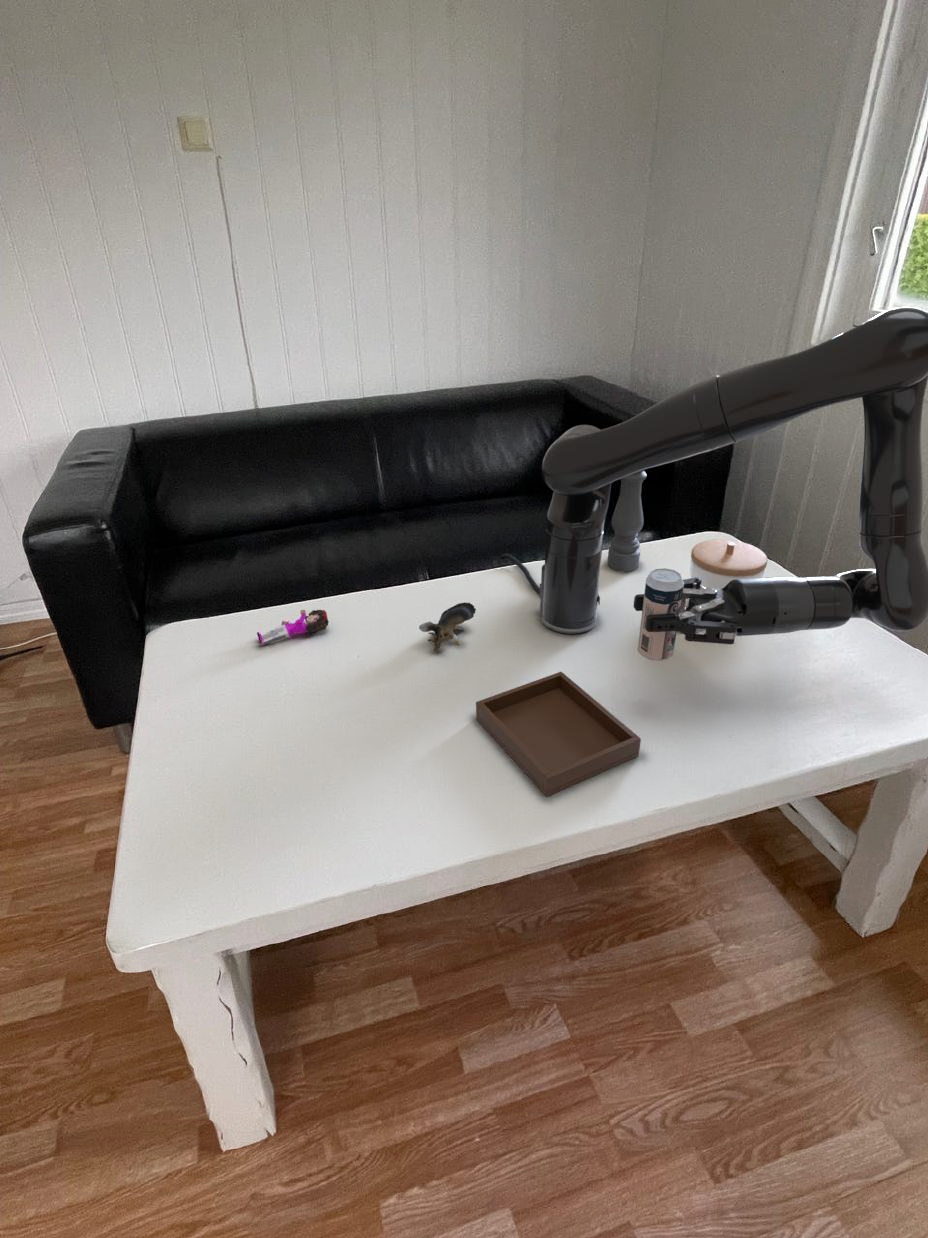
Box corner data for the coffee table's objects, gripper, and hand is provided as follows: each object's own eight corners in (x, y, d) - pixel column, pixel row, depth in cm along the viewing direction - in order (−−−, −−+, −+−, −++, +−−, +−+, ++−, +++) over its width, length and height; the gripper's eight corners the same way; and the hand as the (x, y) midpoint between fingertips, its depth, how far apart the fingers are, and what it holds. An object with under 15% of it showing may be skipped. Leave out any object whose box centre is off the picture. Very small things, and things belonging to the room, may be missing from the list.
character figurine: (264, 656, 116) (334, 633, 119) (255, 631, 113) (326, 607, 116) (259, 640, 120) (326, 618, 123) (250, 615, 118) (319, 593, 121)
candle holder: (641, 561, 141) (656, 438, 128) (634, 574, 136) (649, 448, 123) (611, 556, 143) (623, 435, 130) (603, 568, 138) (614, 444, 125)
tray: (475, 718, 99) (475, 701, 97) (560, 687, 105) (561, 671, 103) (546, 797, 86) (547, 779, 84) (638, 756, 91) (641, 738, 90)
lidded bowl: (753, 586, 131) (764, 531, 125) (761, 620, 120) (775, 562, 114) (683, 580, 133) (691, 527, 128) (685, 613, 123) (695, 556, 117)
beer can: (674, 665, 93) (686, 585, 86) (637, 661, 93) (646, 582, 87) (672, 645, 97) (683, 568, 90) (636, 642, 97) (646, 565, 91)
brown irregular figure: (466, 653, 111) (486, 618, 117) (439, 621, 109) (461, 586, 115) (433, 664, 116) (454, 629, 122) (407, 633, 114) (429, 599, 120)
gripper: (749, 556, 96) (628, 563, 96) (799, 608, 84) (660, 616, 83) (740, 603, 100) (623, 610, 99) (786, 659, 88) (653, 667, 87)
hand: (640, 613), depth 91 cm, fingers closed on beer can, 4 cm apart
